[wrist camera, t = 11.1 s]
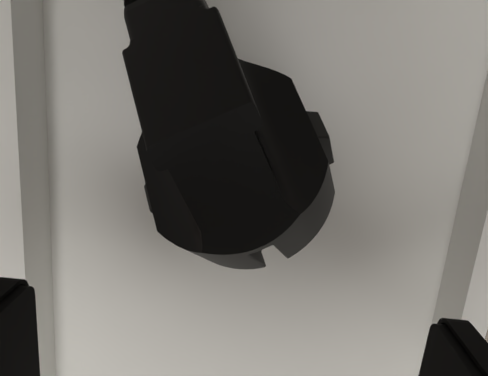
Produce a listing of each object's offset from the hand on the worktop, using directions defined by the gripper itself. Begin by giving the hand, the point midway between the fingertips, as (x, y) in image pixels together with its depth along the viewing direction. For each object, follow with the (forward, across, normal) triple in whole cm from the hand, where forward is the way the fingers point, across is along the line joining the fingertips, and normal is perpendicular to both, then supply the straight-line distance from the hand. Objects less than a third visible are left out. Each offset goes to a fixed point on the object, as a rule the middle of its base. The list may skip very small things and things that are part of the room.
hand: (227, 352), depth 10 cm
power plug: (+8, +2, -6) cm, 10 cm away
